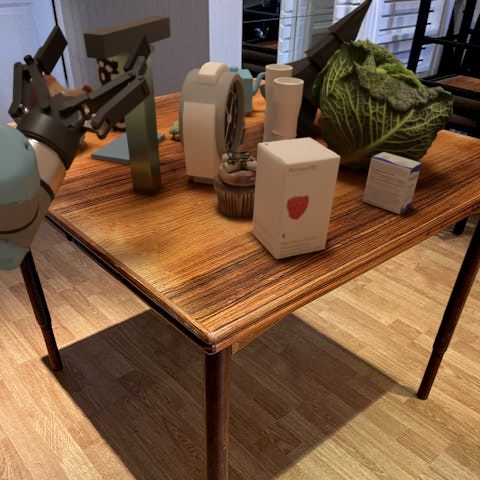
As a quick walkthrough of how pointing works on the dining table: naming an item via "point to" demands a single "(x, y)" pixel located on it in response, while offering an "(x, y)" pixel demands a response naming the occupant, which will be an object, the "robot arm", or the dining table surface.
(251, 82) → the teapot
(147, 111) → the olive green post
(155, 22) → the bar
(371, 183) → the box
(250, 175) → the cupcake
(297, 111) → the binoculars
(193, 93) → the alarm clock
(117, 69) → the white-spotted black cylinder
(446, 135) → the dining table surface
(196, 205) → the dining table surface
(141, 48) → the robot arm
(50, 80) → the figurine
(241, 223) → the dining table surface
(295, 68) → the decorative tree
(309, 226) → the rectangular carton
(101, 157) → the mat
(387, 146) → the cabbage
